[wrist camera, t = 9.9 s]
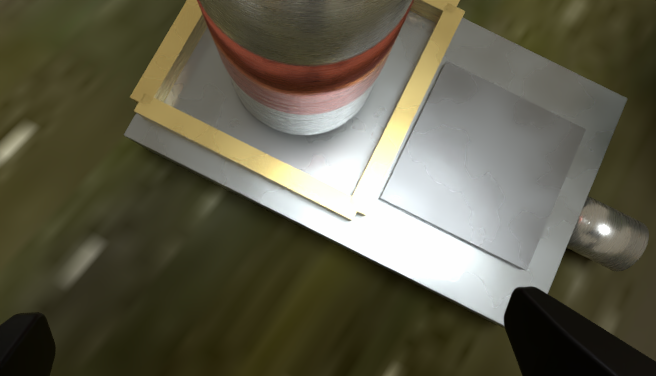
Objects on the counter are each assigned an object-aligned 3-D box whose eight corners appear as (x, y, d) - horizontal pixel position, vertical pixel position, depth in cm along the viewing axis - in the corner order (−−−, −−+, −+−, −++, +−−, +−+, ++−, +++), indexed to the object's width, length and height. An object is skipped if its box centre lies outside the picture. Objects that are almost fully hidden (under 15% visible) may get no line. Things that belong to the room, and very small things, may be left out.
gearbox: (639, 144, 22) (712, 122, 18) (556, 354, 21) (615, 379, 17) (258, -43, 22) (248, -105, 18) (148, 150, 21) (111, 127, 17)
